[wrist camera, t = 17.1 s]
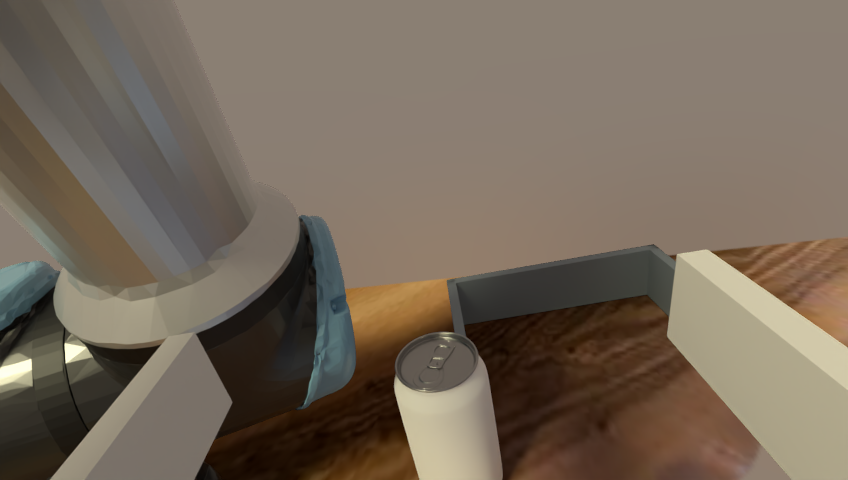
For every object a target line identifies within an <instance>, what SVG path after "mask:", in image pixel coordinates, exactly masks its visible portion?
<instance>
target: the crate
mask: <svg viewBox="0 0 848 480" xmlns="http://www.w3.org/2000/svg"><path fill="white" fill-rule="evenodd" d="M675 267H676V261H674V260H673V259H672V258H671V257H669V256H668V255H667V254H665V253H664V252H663V251H662V250H660V249H659V248H658V247H656V246H655V245H648V246H641V247H636V248H630V249H624V250H619V251H613V252H607V253H601V254H595V255H589V256H584V257H578V258H572V259H567V260H560V261H554V262H549V263H543V264H538V265H531V266H525V267H520V268H514V269H509V270H503V271H496V272H491V273H485V274H479V275H473V276H467V277H462V278H456V279H450V280H447V286H448V292H449V299H450V305H451V312H452V319H453V325H454V332H455V333H457V334H460V335H463V336H465V337H466V333H465V328H464V325H466V324H472V323H478V322H484V321H490V320H496V319H502V318H508V317H515V316H521V315H527V314H533V313H539V312H545V311H551V310H557V309H563V308H569V307H575V306H581V305H587V304H593V303H599V302H605V301H611V300H617V299H623V298H629V297H635V296H641V295H648V296H649V297H650V298H651V299H652V300H653V301H654V302H655V303H656V304H657V305H658V306H659V307H660V308H661V309H662V310H663V311H664V312H665V313H666V314H667V315H668V316H670V307H671V299H672V291H673V283H674V275H675Z"/></svg>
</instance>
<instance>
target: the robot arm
mask: <svg viewBox="0 0 848 480" xmlns="http://www.w3.org/2000/svg"><path fill="white" fill-rule="evenodd" d="M0 205H1V206H2V207H3V208H4V209H5V210H6V211H7V212H8V213H9V214H10V215H11V216H12V217H13V218H14V219H15V220H16V221H17V222H18V223H19V224H20V225H21V226H22V227H23V228H24V229H25V230H26V231H27V232H28V233H29V234H30V235H31V236H32V237H33V238H34V239H35V240H36V241H37V242H38V243H39V244H41V246H42V247H43V248H44V249H45V250H47V252H48V253H49V254H50V255H52V256H53V257H54V258H55V259H56V260H57V261H58V262H59V263H60V264H61V265H62V266H63V268H62V270H61V272H60V271H56V270H54V269H53V268H52V267H51V266H50V265H49V264H47V263H46V262H43V261H33V262H24V263H19V264H16V265H12V266H9V267H6V268H3V269H0V480H222V478H221V476H220V475H219V473H218V472H217V471H216V470H215V469H214V468H213V467H212V466H211V465H209V464H208V463H206V462H205V461H204V459H205V457H206V455H207V453H208V451H209V449H210V447H211V445H212V443H213V441H214V440H215V439H217V438H220V437H223V436H225V435H228V434H230V433H233V432H236V431H238V430H241V429H243V428H246V427H249V426H251V425H254V424H256V423H259V422H262V421H264V420H267V419H269V418H272V417H275V416H277V415H280V414H283V413H285V412H288V411H291V410H294V409H296V410H301V409H304V408H307V407H308V406H309V405H310V404H311V403H312V402H313V401H315V400H317V399H320V398H322V397H324V396H326V395H329V394H331V393H333V392H335V391H337V390H339V389H341V388H343V387H344V386H345V385H346V384H347V383H348V382H349V381H350V379H351V378H352V376H353V373H354V370H355V366H356V349H355V339H354V332H353V325H352V320H351V315H350V310H349V307H348V304H347V302H346V293H345V287H344V280H343V276H342V272H341V268H340V263H339V260H338V256H337V252H336V249H335V245H334V242H333V239H332V236H331V233H330V231H329V228H328V226H327V224H326V222H325V221H324V220H323V219H322V218H321V217H318V216H310V217H308V216H305V215H301V216H299V217H298V214H297V212H296V209H295V208H294V206H293V204H292V203H291V202H290V200H289V199H288V198H287V197H286V195H284V194H283V193H281V192H280V191H279V190H277V189H275V188H273V187H271V186H269V185H266V184H263V183H260V182H256V181H253V180H252V179H251V177H250V175H249V172H248V170H247V168H246V166H245V163H244V161H243V159H242V156H241V154H240V152H239V149H238V147H237V145H236V142H235V140H234V138H233V136H232V133H231V131H230V129H229V126H228V124H227V122H226V119H225V117H224V115H223V113H222V110H221V108H220V106H219V103H218V101H217V99H216V97H215V94H214V92H213V89H212V87H211V85H210V83H209V80H208V78H207V76H206V73H205V71H204V69H203V66H202V64H201V62H200V60H199V57H198V55H197V53H196V50H195V48H194V46H193V43H192V41H191V39H190V36H189V34H188V32H187V29H186V27H185V25H184V23H183V20H182V18H181V16H180V14H179V11H178V9H177V6H176V4H175V2H174V0H0ZM667 337H668V338H669V339H670V341H671V342H672V343H673V344H674V345H675V346H676V347H677V349H678V350H679V351H680V352H681V353H682V354H683V355H684V357H685V358H686V359H687V360H688V361H689V362H690V364H691V365H692V366H693V367H694V368H695V369H696V370H697V372H698V373H699V374H700V375H701V376H702V377H703V378H704V380H705V381H706V382H707V383H708V384H709V385H710V387H711V388H712V389H713V390H714V391H715V392H716V393H717V395H718V396H719V397H720V398H721V399H722V400H723V401H724V403H725V404H726V405H727V406H728V407H729V408H730V410H731V411H732V412H733V413H734V414H735V415H736V416H737V418H738V419H739V420H740V421H741V422H742V423H743V424H744V426H745V427H746V428H747V429H748V430H749V431H750V433H751V434H752V435H753V436H754V437H755V438H756V439H757V441H758V442H759V443H760V444H761V445H762V446H763V447H764V449H765V450H766V451H767V452H768V453H769V454H770V455H771V457H772V458H773V459H774V460H775V461H776V462H777V464H778V465H779V466H780V467H781V468H782V469H783V470H784V472H785V473H786V474H787V475H788V476H789V477H790V478H791V480H848V348H847V347H846V346H844V345H843V344H842V343H840V342H839V341H837V340H836V339H834V338H833V337H832V336H830V335H829V334H827V333H826V332H824V331H823V330H822V329H820V328H819V327H817V326H816V325H814V324H813V323H812V322H810V321H809V320H807V319H806V318H804V317H803V316H802V315H800V314H799V313H797V312H796V311H794V310H793V309H792V308H790V307H789V306H787V305H786V304H784V303H783V302H782V301H780V300H779V299H777V298H776V297H774V296H773V295H772V294H770V293H769V292H767V291H766V290H764V289H763V288H762V287H760V286H759V285H757V284H756V283H754V282H753V281H752V280H750V279H749V278H747V277H746V276H744V275H743V274H742V273H740V272H739V271H737V270H736V269H734V268H733V267H732V266H730V265H729V264H727V263H726V262H724V261H723V260H722V259H720V258H719V257H717V256H716V255H714V254H713V253H712V252H710V251H709V250H707V249H706V250H700V251H694V252H688V253H681V254H677V259H676V267H675V275H674V283H673V291H672V299H671V307H670V316H669V324H668V332H667Z"/></svg>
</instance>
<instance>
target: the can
mask: <svg viewBox="0 0 848 480" xmlns="http://www.w3.org/2000/svg"><path fill="white" fill-rule="evenodd" d="M395 372H396V375H395V380H394V390H395V395H396V399H397V403H398V406H399V410H400V414H401V417H402V421H403V424H404V428H405V431H406V435H407V438H408V442H409V445H410V448H411V452H412V455H413V459H414V462H415V466H416V469H417V472H418V476H419V479H420V480H502V478H503V470H502V462H501V455H500V448H499V441H498V435H497V428H496V422H495V415H494V409H493V403H492V396H491V390H490V384H489V378H488V373H487V369H486V366H485V364H484V362H483V360H482V359H481V357H480V356H479V355H478V351H477V348H476V346H475V345H474V343H473V342H472V341H471V340H469V339H468V338H467V337H465V336H463V335H460V334H457V333H453V332H434V333H430V334H426V335H423V336H420V337H418V338H416V339H414V340H413V341H411V342H410V343H408V344H407V345H406V346H405V347H404V348H403V349H402V350H401V351H400V353H399V354H398V356H397V359H396V362H395Z"/></svg>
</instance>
